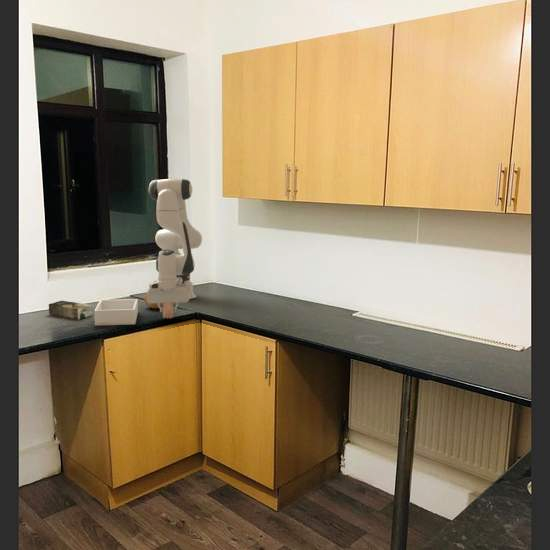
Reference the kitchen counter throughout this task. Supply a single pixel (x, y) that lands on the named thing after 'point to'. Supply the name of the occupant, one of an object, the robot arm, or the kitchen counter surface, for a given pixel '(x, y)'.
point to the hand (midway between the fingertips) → (168, 311)
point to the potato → (152, 305)
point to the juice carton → (70, 309)
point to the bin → (116, 312)
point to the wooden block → (168, 310)
